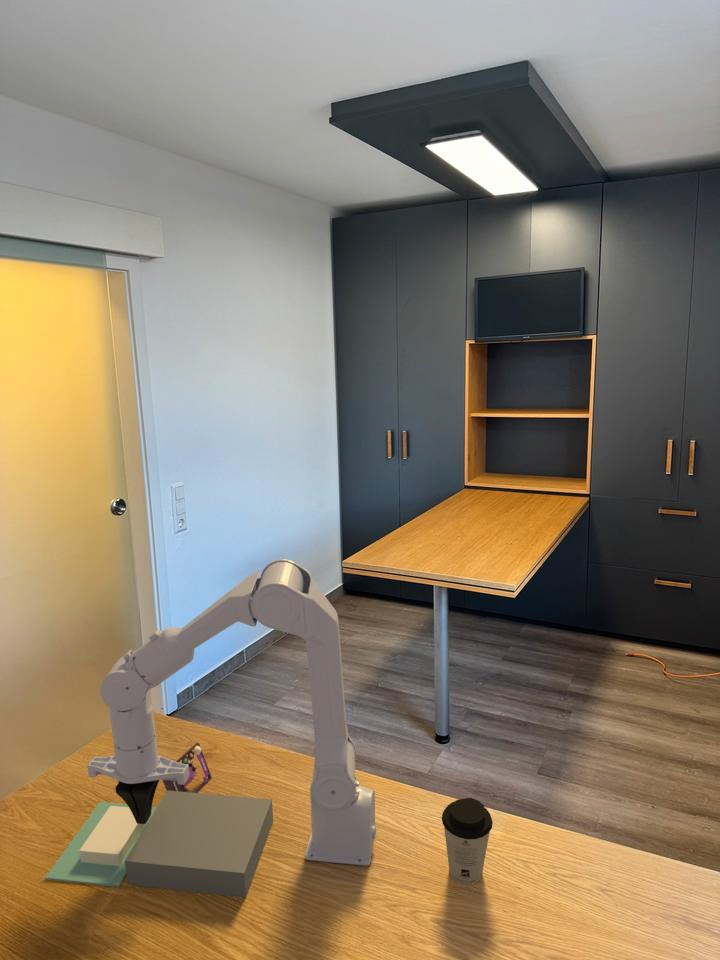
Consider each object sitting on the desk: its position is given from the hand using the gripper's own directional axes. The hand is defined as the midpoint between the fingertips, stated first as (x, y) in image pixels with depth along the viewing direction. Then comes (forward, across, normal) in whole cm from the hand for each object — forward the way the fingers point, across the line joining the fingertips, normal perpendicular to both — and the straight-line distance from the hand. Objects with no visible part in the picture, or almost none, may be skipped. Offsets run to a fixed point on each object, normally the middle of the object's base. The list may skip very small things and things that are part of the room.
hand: (143, 818), depth 98 cm
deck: (+5, -9, 0) cm, 10 cm away
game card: (+5, -1, -12) cm, 13 cm away
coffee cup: (+5, -47, -1) cm, 47 cm away
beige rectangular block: (+2, +5, 0) cm, 6 cm away
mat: (+5, +6, 0) cm, 8 cm away
